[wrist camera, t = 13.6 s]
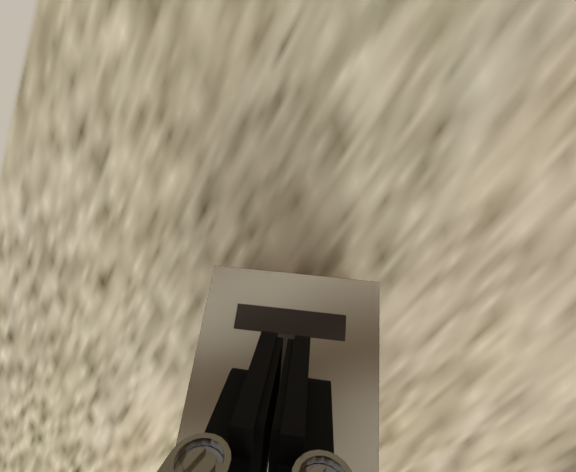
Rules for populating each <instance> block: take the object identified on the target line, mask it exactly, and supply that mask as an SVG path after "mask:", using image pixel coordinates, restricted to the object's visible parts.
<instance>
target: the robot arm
mask: <svg viewBox="0 0 576 472" xmlns="http://www.w3.org/2000/svg"><path fill="white" fill-rule="evenodd" d="M310 340H311V337H309V336H301V335H295V337H294V339H289V338H288V342H287V347H286V353H285V358H284V364H283V369H282V375H281V380H280V374H281V362H282V350H283V338H281V337H278V333H277V332H268V331H261V334H260V337H259V340H258V343H257V346H256V349H255V352H254V355H253V357H252V360H251V363H250V366H249V369H248V370H245V369H238V368H232V369H231V371H230V373H229V375H228V377H227V380H226V382H225V385H224V387H223V389H222V392H221V394H220V396H219V399H218V401H217V403H216V406H215V408H214V411H213V413H212V415H211V418H210V420H209V422H208V425H207V427H206V429H205V432H204V433H197V434H194V435H191V436H189V437H186V438H185V439H183V440H182V441H180V442H179V443H178V444H177V445H176V446H175V447H174V448H173V450H172V451H171V452H170V454H169V455H168V457H167V458H166V459H165V461H164V462H163V464H162V465H161V467H160V468H159V470H158V471H157V472H267V468H268V472H352V470H351V469H350V467H349V466H348V465H347V463H346V462H345V461H344V460H343V459H341V458H340V457H339V456H338V455H336V454H334V439H333V415H332V391H331V381H328V380H320V379H313V378H308V373H309V357H310ZM268 462H269V465H268Z"/></svg>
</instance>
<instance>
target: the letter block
mask: <svg viewBox="0 0 576 472" xmlns="http://www.w3.org/2000/svg"><path fill="white" fill-rule="evenodd" d="M261 331H268V332H277V333H278V337H281V338H283V350H282V362H281V374H280V380H281V375H282V369H283V364H284V358H285V353H286V347H287V342H288V338H289V339H294V337H295V335H301V336H309V337H311V340H310V357H309V373H308V378H313V379H320V380H328V381H331V391H332V415H333V439H334V454H336V455H338V456H339V457H340V458H341V459H343V460H344V461H345V462H346V463H347V465H348V466H349V467H350V469H351V470H352V472H379V282H373V281H363V280H353V279H343V278H333V277H323V276H313V275H303V274H293V273H283V272H273V271H263V270H253V269H243V268H233V267H223V266H214V271H213V275H212V280H211V285H210V289H209V294H208V299H207V303H206V308H205V313H204V317H203V322H202V327H201V331H200V336H199V340H198V345H197V350H196V354H195V359H194V364H193V368H192V373H191V378H190V382H189V387H188V392H187V396H186V401H185V405H184V410H183V415H182V419H181V424H180V429H179V433H178V438H177V443H176V445H177V444H178V443H179V442H180V441H182V440H183V439H185V438H186V437H189V436H191V435H194V434H197V433H204V432H205V429H206V427H207V425H208V422H209V420H210V418H211V415H212V413H213V411H214V408H215V406H216V403H217V401H218V399H219V396H220V394H221V392H222V389H223V387H224V385H225V382H226V380H227V377H228V375H229V373H230V371H231V369H232V368H238V369H245V370H248V369H249V366H250V363H251V360H252V357H253V355H254V352H255V349H256V346H257V343H258V340H259V337H260V334H261ZM268 465H269V462H268ZM267 472H268V468H267Z"/></svg>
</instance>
